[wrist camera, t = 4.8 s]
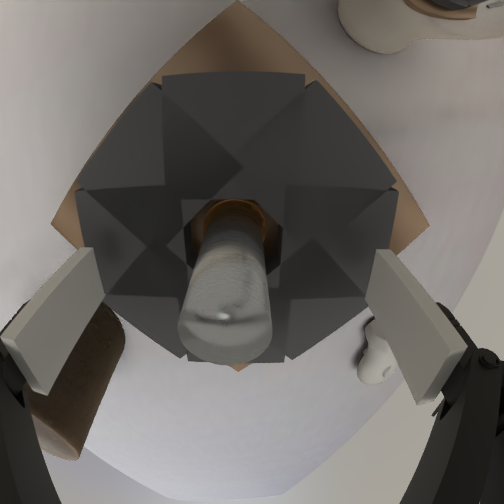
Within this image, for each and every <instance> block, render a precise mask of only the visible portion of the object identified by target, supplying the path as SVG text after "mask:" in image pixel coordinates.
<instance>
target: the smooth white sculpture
mask: <svg viewBox="0 0 504 504" xmlns="http://www.w3.org/2000/svg"><path fill="white" fill-rule="evenodd" d="M365 335H366V339H367V341H368V347H367V348H366V349H365V350H364V351H363V354H364V356H363V358H362V359H361V361H360V363H359V365H358V368H357V376H358V378H359V380H360V381H361V382H362V383H364V384H367V385H375V384H379V383H381V382H383V381H384V380H386V379H387V378H388V377H389V376H390V375H391V374H392V373H393V372H394V371H395V370H396V369H397V367H398V363H397V361H396V359H395V357H394V355H393V353H392V351H391V349H390V347H389V345H388V343H387V341H386V339H385V337H384V335H383V333H382V331H381V329H380V327H379V325H378V323H377V321H376V319H374V320H373V321H371V322H370V323H369V324H368V325H367V326H366V328H365Z"/></svg>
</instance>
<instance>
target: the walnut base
mask: <svg viewBox="0 0 504 504" xmlns="http://www.w3.org/2000/svg"><path fill="white" fill-rule="evenodd" d="M227 71H257V72H282V73H297V74H305V86H306V85H308V84H309V83H311V82H313V81H315V80H317V81H318V82H319V83H320V84H321V85H322V86H323V87H324V88H325V89H326V90H327V91H328V93H329V94H330V95H331V96H332V97H333V98H334V99H335V101H336V102H337V103H338V104H339V105H340V106H341V107H342V109H343V110H344V111H345V112H346V113H347V115H348V116H349V117H350V118H351V119H352V121H353V122H354V123H355V124H356V126H357V127H358V128H359V129H360V131H361V132H362V133H363V135H364V136H365V137H366V138H367V140H368V141H369V142H370V144H371V145H372V146H373V148H374V149H375V150H376V152H377V153H378V155H379V156H380V157H381V159H382V160H383V162H384V163H385V164H386V166H387V167H388V169H389V170H390V172H391V173H392V175H393V176H394V177H395V179H396V180H397V182H396V183H395V184H394V185H392V186H391V187H392V188H394V189H396V190H397V191H399V196H398V202H397V208H396V214H395V220H394V225H393V230H392V235H391V240H390V245H389V250H391V251H392V252H393V253H394V254H395V255H397V254H399V253H400V252H401V251H402V250H403V249H404V248H405V247H407V246H408V245H409V244H410V243H411V242H412V241H413V240H414V239H416V238H417V237H418V236H419V235H420V234H421V233H422V232H423V231H424V230H425V229H426V228H428V227H429V226H430V225H429V223H428V222H427V220H426V218H425V216H424V214H423V213H422V211H421V209H420V208H419V206H418V204H417V202H416V201H415V199H414V197H413V196H412V194H411V193H410V191H409V189H408V188H407V186H406V185H405V183H404V182H403V180H402V178H401V177H400V175H399V174H398V172H397V171H396V169H395V168H394V166H393V165H392V163H391V162H390V161H389V159H388V158H387V156H386V155H385V153H384V152H383V151H382V149H381V148H380V146H379V145H378V144H377V142H376V141H375V140H374V138H373V137H372V136H371V134H370V133H369V132H368V130H367V129H366V128H365V127H364V125H363V124H362V123H361V121H360V120H359V119H358V118H357V116H356V115H355V114H354V113H353V111H352V110H351V109H350V108H349V107H348V105H347V104H346V103H345V102H344V101H343V100H342V98H341V97H340V96H339V95H338V94H337V93H336V92H335V90H334V89H333V88H332V87H331V86H330V85H329V84H328V83H327V81H326V80H325V79H324V78H323V77H322V76H321V75H320V74H319V73H318V72H317V71H316V70H315V69H314V68H313V67H312V66H311V65H310V64H309V63H308V62H307V61H306V60H305V59H304V58H303V57H302V56H301V55H300V54H299V53H298V52H297V51H296V50H295V49H294V48H293V47H292V46H291V45H290V44H289V43H288V42H287V41H286V40H285V39H284V38H282V37H281V36H280V35H279V34H278V33H277V32H276V31H275V30H274V29H272V28H271V27H270V26H269V25H268V24H267V23H265V22H264V21H263V20H262V19H261V18H260V17H258V16H257V15H256V14H255V13H253V12H252V11H251V10H250V9H248V8H247V7H246V6H245V5H243V4H242V3H241V2H239V1H238V0H237V1H236V2H235V3H233V4H232V5H231V6H229V7H228V8H227V9H226V10H224V11H223V12H222V13H221V14H219V15H218V16H217V17H216V18H214V19H213V20H212V21H211V22H210V23H208V24H207V25H206V26H205V27H204V28H203V29H202V30H200V31H199V32H198V33H197V34H196V35H195V36H194V37H193V38H192V39H190V40H189V41H188V42H187V43H186V44H185V45H184V46H183V47H182V48H181V49H180V50H179V51H178V52H177V53H176V54H175V55H174V56H173V57H172V58H171V59H170V60H169V61H168V62H167V63H166V64H165V65H164V66H163V67H162V68H161V69H160V70H159V71H158V72H157V73H156V74H155V75H154V76H153V78H152V79H151V80H150V81H149V82H148V83H147V84H146V85H145V86H144V88H143V89H142V90H141V91H140V92H139V93H138V95H137V96H136V97H135V98H134V99H133V100H132V102H131V103H130V104H129V105H128V107H127V108H126V109H125V110H124V111H123V113H122V114H121V115H120V117H119V118H118V119H117V120H116V122H115V123H114V124H113V126H112V127H111V128H110V130H109V131H108V132H107V134H106V135H105V136H104V138H103V139H102V141H101V142H100V143H99V145H98V146H97V148H96V149H95V151H94V152H93V153H92V155H91V156H90V158H89V159H88V161H87V162H86V164H85V165H84V167H83V169H82V170H81V172H80V173H79V175H78V177H77V178H76V180H75V181H74V183H73V185H72V186H71V188H70V190H69V191H68V193H67V195H66V197H65V198H64V200H63V202H62V204H61V205H60V207H59V209H58V211H57V213H56V215H55V217H54V218H53V220H52V222H51V225H52V226H53V227H54V228H55V229H56V230H57V231H58V232H59V233H60V234H61V235H62V236H63V237H64V238H66V239H67V240H68V241H69V242H70V243H71V244H72V245H73V246H74V247H75V248H76V249H77V250H78V249H79V248H80V247H84V242H83V237H82V233H81V228H80V223H79V217H78V212H77V206H76V200H75V193H74V191H76V190H78V189H79V188H81V186H80V185H79V184H78V183H77V182H76V181H77V179H78V178H79V176H80V174H81V173H82V171H83V170H84V168H85V167H86V165H87V164H88V162H89V161H90V159H91V158H92V156H93V155H94V153H95V152H96V150H97V149H98V147H99V146H100V145H101V143H102V142H103V140H104V139H105V138H106V136H107V135H108V134H109V132H110V131H111V130H112V128H113V127H114V126H115V124H116V123H117V122H118V120H119V119H120V118H121V117H122V115H123V114H124V113H125V112H126V110H127V109H128V108H129V107H130V105H131V104H132V103H133V102H134V101H135V99H136V98H137V97H138V96H139V95H140V94H141V92H142V91H143V90H144V89H145V88H146V87H147V86H148V84H149V83H150V82H153V83H157V84H160V85H162V76H166V75H176V74H187V73H202V72H227ZM218 200H220V199H211V200H210V201H209V202H208V203H207V204H206V205H205V206H204V207H203V208H202V209H201V210H200V211H199V212H198V213H197V214H196V215H195V216H194V217H193V218H192V219H191V220H190V223H191V237H192V248H193V249H194V250H195V251H196V252H197V253H198V254H199V252H200V248H201V245H202V242H203V239H204V235H203V224H204V220H205V218H206V215H207V213H208V211H209V209H210V208H211V206H212V205H213V204H214V203H216V202H217V201H218ZM250 200H251V201H253V202H254V203H255V204H257V205H258V207H259V208H260V209H261V211H262V213H263V215H264V218H265V224H266V236H265V240H264V242H263V249H264V258H265V259H266V258H267V257H268V256H269V255H270V254H272V253H273V252H274V251H275V250H276V249H277V244H278V225H279V224H278V223H277V222H276V221H275V220H274V219H273V218H272V217H271V216H270V215H269V214H268V213H267V212H266V211H265V210H264V209H263V208H262V207H261V206H260V205H259V204H258V203H257V202H256V201H255V200H254V199H250ZM250 364H251V363H242V364H236V365H228V366H230V367H232V368H233V369H235V370H236V371H238V372H239V371H240V370H242V369H243V368H245V367H247V366H248V365H250Z"/></svg>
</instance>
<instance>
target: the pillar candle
mask: <svg viewBox="0 0 504 504" xmlns="http://www.w3.org/2000/svg"><path fill="white" fill-rule="evenodd" d="M124 344H125V335H124V331H123V329H122V326H121V324H120V322H119V321H118V319H117V318H116V317H115V315H114V314H113V312H112V311H111V310H110V309H109V308H108V306H107V305H106V304H105V303H103V302H101V303H100V305H99V307H98V308H97V310H96V311H95V313H94V314H93V316H92V318H91V319H90V321H89V322H88V324H87V326H86V327H85V329H84V331H83V332H82V334H81V336H80V337H79V339H78V341H77V342H76V344H75V346H74V348H73V349H72V351H71V353H70V355H69V356H68V358H67V360H66V362H65V364H64V365H63V367H62V369H61V371H60V373H59V375H58V376H57V378H56V380H55V382H54V384H53V386H52V388H51V390H50V392H49V394H48V396H47V395H44V394H41V393H38V392H35V391H33V390H32V388H31V387H30V385H29V384H28V382H27V381H26V382H25V384H24V386H23V387H24V388H25V390H26V392H27V396H28V401H29V406H30V410H31V415H32V419H33V423H34V427H35V431H36V434H37V438H38V441H39V445H40V448H41V450H43V451H44V452H46V453H49V454H52V455H54V456H57V457H60V458H62V459H66V460H74V461H76V460H78V459H79V457H80V454H81V451H82V449H83V446H84V443H85V441H86V438H87V436H88V433H89V430H90V428H91V425H92V423H93V420H94V417H95V415H96V413H97V410H98V407H99V405H100V403H101V400H102V398H103V396H104V394H105V391H106V389H107V386H108V384H109V381H110V379H111V377H112V374H113V372H114V370H115V368H116V365H117V363H118V361H119V359H120V357H121V354H122V352H123V349H124Z"/></svg>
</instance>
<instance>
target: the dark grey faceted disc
mask: <svg viewBox="0 0 504 504" xmlns="http://www.w3.org/2000/svg"><path fill="white" fill-rule="evenodd" d="M76 182H77V183H78V184H79V185H80V186H81V188H79V189H78V190H76V191H74V193H75V200H76V206H77V212H78V217H79V223H80V228H81V233H82V237H83V242H84V247H90V248H93V250H94V254H95V259H96V263H97V267H98V271H99V275H100V279H101V283H102V287H103V290H104V294H106V295H105V297H104V299H103V300H102V302H104V303H105V304H106V305H107V306H108V307H110V308H111V309H112V310H114V311H115V312H116V313H117V314H119V315H120V316H121V317H122V318H124V319H125V320H126V321H128V322H129V323H130V324H132V325H133V326H134V327H136V328H137V329H138V330H140V331H141V332H142V333H144V334H145V335H147V336H148V337H149V338H151V339H152V340H154V341H155V342H156V343H158V344H159V345H161V346H162V347H164V348H165V349H167V350H168V351H170V352H171V353H172V354H174V355H175V356H177V357H178V358H181V357H183V356H184V355H185V354H187V358H188V361H195V362H207V361H204V360H202V359H200V358H198V357H196V356H195V355H193V354H192V353H191V352H190V351H189V350H188V349H187V348H186V347H185V346H184V345H183V343H182V342H181V340H180V337H179V334H178V321H179V317H180V314H181V310H182V307H183V303H184V300H185V297H186V293H187V290H188V287H189V283H190V280H191V277H192V274H193V270H194V267H195V264H196V261H197V258H198V255H199V254H198V253H197V252H196V251H195V250H194V249H193V248H192V237H191V223H190V220H191V219H192V218H193V217H194V216H195V215H196V214H197V213H198V212H199V211H200V210H201V209H202V208H203V207H204V206H205V205H206V204H207V203H208V202H209V201H210V200H211V199H254V200H255V201H256V202H257V203H258V204H259V205H260V206H261V207H262V208H263V209H264V210H265V211H266V212H267V213H268V214H269V215H270V216H271V217H272V218H273V219H274V220H275V221H276V222H277V223H278V224H279V225H278V244H277V249H276V250H275V251H274V252H273V253H272V254H270V255H269V256H268V257H267V258H266V259H265V266H266V275H267V284H268V293H269V302H270V312H271V321H272V339H271V342H270V344H269V346H268V347H267V349H266V350H265V351H264V352H263V353H262V354H261V355H259V356H258V357H257V358H255V359H253V360H251V361H248V362H245V363H280V362H284V359H285V355H286V356H287V357H289V358H290V359H292V360H293V359H294V358H296V357H297V356H299V355H301V354H302V353H304V352H305V351H307V350H308V349H310V348H311V347H313V346H314V345H316V344H317V343H318V342H320V341H321V340H323V339H324V338H326V337H327V336H329V335H330V334H331V333H333V332H334V331H336V330H337V329H338V328H340V327H341V326H343V325H344V324H345V323H347V322H348V321H349V320H351V319H352V318H353V317H355V316H356V315H357V314H359V313H360V312H361V311H363V310H364V309H365V308H367V307H368V304H367V302H366V300H365V297H366V293H367V289H368V285H369V280H370V276H371V272H372V267H373V263H374V258H375V254H376V249H389V245H390V240H391V235H392V230H393V225H394V220H395V214H396V208H397V202H398V196H399V191H397V190H396V189H394V188H392V187H391V186H392V185H394V184H395V183H396V182H397V180H396V179H395V177H394V176H393V175H392V173H391V172H390V170H389V169H388V167H387V166H386V164H385V163H384V162H383V160H382V159H381V157H380V156H379V155H378V153H377V152H376V150H375V149H374V148H373V146H372V145H371V144H370V142H369V141H368V140H367V138H366V137H365V136H364V135H363V133H362V132H361V131H360V129H359V128H358V127H357V126H356V124H355V123H354V122H353V121H352V119H351V118H350V117H349V116H348V115H347V113H346V112H345V111H344V110H343V109H342V107H341V106H340V105H339V104H338V103H337V102H336V101H335V99H334V98H333V97H332V96H331V95H330V94H329V93H328V91H327V90H326V89H325V88H324V87H323V86H322V85H321V84H320V83H319V82H318V81H317V80H315V81H313V82H311V83H309V84H308V85H306V86H305V74H297V73H282V72H257V71H227V72H202V73H187V74H176V75H166V76H162V85H160V84H157V83H153V82H150V83H149V84H148V86H147V87H146V88H145V89H144V90H143V91H142V92H141V94H140V95H139V96H138V97H137V98H136V99H135V101H134V102H133V103H132V104H131V105H130V107H129V108H128V109H127V110H126V112H125V113H124V114H123V115H122V117H121V118H120V119H119V120H118V122H117V123H116V124H115V126H114V127H113V128H112V130H111V131H110V132H109V134H108V135H107V136H106V138H105V139H104V140H103V142H102V143H101V145H100V146H99V147H98V149H97V150H96V152H95V153H94V155H93V156H92V158H91V159H90V161H89V162H88V164H87V165H86V167H85V168H84V170H83V171H82V173H81V174H80V176H79V178H78V179H77V181H76Z"/></svg>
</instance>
